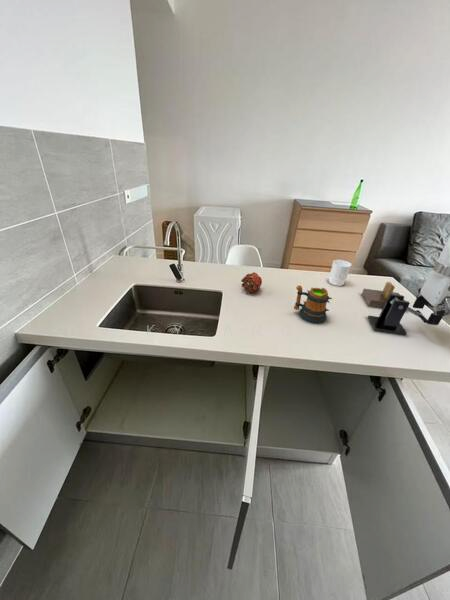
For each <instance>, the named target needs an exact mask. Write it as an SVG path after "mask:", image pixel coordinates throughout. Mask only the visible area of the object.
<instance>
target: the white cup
mask: <svg viewBox="0 0 450 600" xmlns="http://www.w3.org/2000/svg"><path fill="white" fill-rule="evenodd" d="M352 266H353V265H352V263H351V262H349V261H347V260H344V259H335V260H332V264H331V269H330V272H329V279H328V283H329V284H331V285H334V286H336V287H337V286H338V287H342V286H344V284H345V282H346V280H347V278H348V275H349V274H350V272H351V268H352Z"/></svg>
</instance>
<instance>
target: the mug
mask: <svg viewBox="0 0 450 600" xmlns="http://www.w3.org/2000/svg"><path fill="white" fill-rule="evenodd" d="M295 288H296V290H297V292H296V293H297V296H296V302H295V304H294V305H293V309H294V310H296V311H298V310H299V309H300V310H299V313H298V314H299V317H300V318H301V319H302V321H305V322H307V323H310V324H316V325H317V324H318V325H319V324H323V323H325V322H326V320H327V312H329V311H330V309H327V304H328V303H329V304H330V301H329V300H332V299H333V297H330V296H329V293H328V290H327V288H324V287H310V290H306V291H303V287H302V285H296V287H295ZM302 296H306V299H305V300H303V301H302V302H303V303H301V299H302ZM300 307H301V308H300Z"/></svg>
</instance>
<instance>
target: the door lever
mask: <svg viewBox="0 0 450 600" xmlns="http://www.w3.org/2000/svg"><path fill="white" fill-rule="evenodd" d="M394 300H400V299H398V298H397V297H395V298H394V299H392V300H391V301H390V303H391V304H392V303H393V301H394ZM400 301H402V300H400ZM406 312H409V313H410V314H412V315H414V316H416V317H418V318H419V319H420V320H421V321H422V322H423V323H424V324H427V323H426V322H427V320H428V318H427V317H425V316H424V315H423V313H422V311H421V310H420V309H416V310H415V309H414V308H411V307H409V306H408V308H407V310H406Z"/></svg>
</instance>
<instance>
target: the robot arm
mask: <svg viewBox="0 0 450 600" xmlns="http://www.w3.org/2000/svg"><path fill="white" fill-rule="evenodd" d="M417 292H418V293H417V294H416V298H415V300H414V303H413V304H412V309H418V310H422V309H424V307H425V305H426V303H429V304H430V305H431V306H432V307H433V312H431V313H430V315H429V317H428V318H427V322H426V323H425V324H427V325H431V326H438V325H439V324H440V323H441V320H442V319H443V318H444V317H446V316H448V315H449V314H450V236H449V237H448V239H447V240H446V242H445V244H444V247H443V249H442V250H441V253H440V254H439V256H438V258H437V260H436V261H435V263H434V266H433V267H432V270H431V271H430V272H429V274H428V276H427V277H426V279H425V281H424V282H420V283H419V288H418V291H417ZM439 309H440V310H439Z"/></svg>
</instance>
